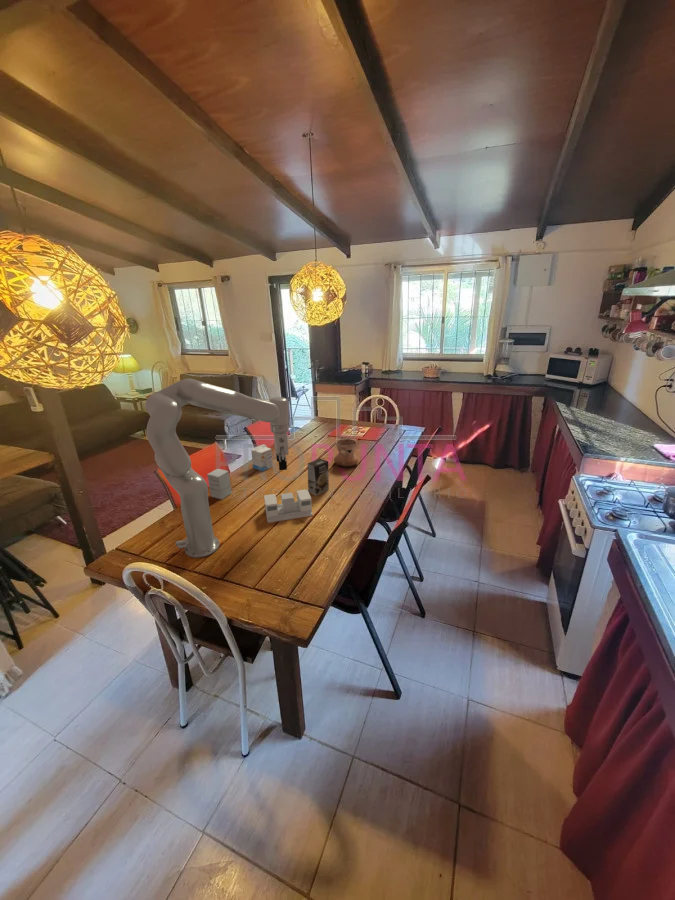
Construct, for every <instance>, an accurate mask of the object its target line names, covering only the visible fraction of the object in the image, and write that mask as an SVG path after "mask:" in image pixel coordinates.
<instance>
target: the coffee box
mask: <svg viewBox="0 0 675 900" xmlns="http://www.w3.org/2000/svg"><path fill="white" fill-rule="evenodd" d="M329 483H330V482H329V460H326V459H322V458H317V459H315V460H312V461H310V462H307V490H308V492H309V494H312V495H314V496H318V495H319V496H320V495H321V494H323V493H326V492H328V491H329V490H330V489H329V488H330V487H329V485H330V484H329Z"/></svg>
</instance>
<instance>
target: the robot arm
mask: <svg viewBox="0 0 675 900" xmlns="http://www.w3.org/2000/svg"><path fill="white" fill-rule="evenodd" d="M188 404H190V405H192V406H196V407H198V408H199V407H200V408H203V409H206V410H207V409H209V410H213V411H217V412H222V413H225V414H226V413H227V414H229V415H234V416H237V417H243V418H247V419H251V420H256V421H261V422H265V423H270V425H269V426H270V432H271V433H272V434H273V441H274V448H275V449H274V450H275V454H276V456H275V457H276V462H278V469H279V471H286V470H288V463H287V462H288V461H287V456H289V452H290V451H289V441H288V440H289V439H288V438H289V437H288V432H289V431H290V429H289V428H290V426H289V425H290V424H289V423H290V422H289V404H288V398H285V397H282V396H281V397H280V396H279V397H278V396H275V397H271V398H254V397H252V396H248V395H246V394H244V393H241V392H238V391H235V390H232V389H229V388H225V387H221V386H218V385H215V384H211V383H207V382H205V381H200V380H198V379H194V378H190V377H189V378H184V379H181V380H178V381H176V382H174V383H173V384H170V385H168V386H166V387H164V388H162V389H161V390H158V391H156V392H154V393H152V394H151V395H149V396H148V398H147V399H146V401H145V411H146V412H147V413H148V415H149V416H150V417H149V418H148V421H147V425H146V438H147V441H148V442H149V445H150V446H151V448H152V450H153V452H154V460H155V463H156V465H157V466H158V468H159V470H160V471H161V472H162V474H163V475H164V477H165V478H166V480H167V482H168V483H169V485H170V486H171V487H172V488H173V490H175V492H177V493H176V494H178V495H179V498H180V509H181V510H180V511H181V515H182V521H183V525H184V530H185V535H186V538H185V539H182V540H176V541H175V546H176V547H178V549H179V550H181V549H184V553H185V555H187V557H190V558H194V559H195V558H196V559H197V558H204V557H207V556H209V555H213V554H214V553H215V552H216V551H217V550H218V549H219V548H220V540H219V538H218V537H217V536H215V535H214V528H213V522H212V516H211V509H210V504H209V487H208V486H209V485H208V483H207V482H206V480H205V479H204V477H203V476H202V475H200V474H199V473H198V472H196V471H195V470H194V469H193V467H192V460H191V456H190V455H189V454H188V452H187V450H186V448H185V447H184V445H183V444H182V442H181V440H180V438H179V436H178V434H177V431H176V430H177V429H176V428H177V426H178V423H179V422H180V419H181V417H182V414H183V413H182V412H183V411H182V407H184V406H186V405H188Z"/></svg>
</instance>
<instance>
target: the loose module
mask: <svg viewBox="0 0 675 900" xmlns="http://www.w3.org/2000/svg"><path fill="white" fill-rule="evenodd" d="M293 494H294V493H293V492H287V493H281V494H280V497H281V498H280V500H281V504H282V510H283V513H288V512H294V502H295V499H294V495H293Z"/></svg>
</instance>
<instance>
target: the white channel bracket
mask: <svg viewBox="0 0 675 900" xmlns="http://www.w3.org/2000/svg"><path fill="white" fill-rule="evenodd" d="M310 494H311V493H310V492H308V488H307V489H300V490H296V498H297V499H296V501H294V512H288V513H283V510H282V503H280V504H278V501H277V496H276V493H270V494H265V495H263V498H264V499H263V501H264V511H265V515H266V521H267V523H268V524H269V523H275V522H281V521H289V520H294V519H295V520H296V519H299V518H305V517H312V516H313V511H312V510H313V508H312V506H313V505H312V496H311V495H310Z"/></svg>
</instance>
